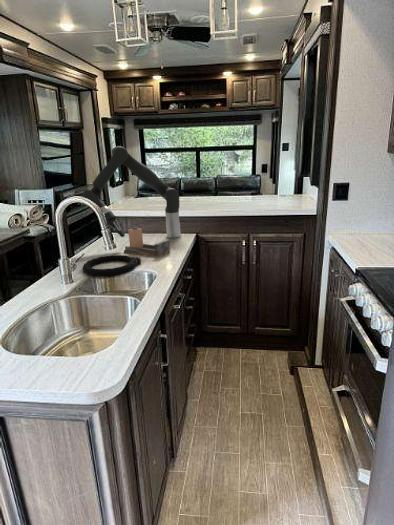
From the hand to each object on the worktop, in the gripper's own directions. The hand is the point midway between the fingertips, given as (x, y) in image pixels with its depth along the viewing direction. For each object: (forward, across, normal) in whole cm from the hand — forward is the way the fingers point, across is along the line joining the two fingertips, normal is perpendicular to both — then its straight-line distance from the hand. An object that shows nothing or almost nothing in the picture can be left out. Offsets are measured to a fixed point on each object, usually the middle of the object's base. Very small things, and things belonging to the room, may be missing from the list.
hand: (123, 236), depth 214 cm
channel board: (+18, 0, -6) cm, 19 cm away
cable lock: (+19, -30, -6) cm, 36 cm away
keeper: (+12, 0, -2) cm, 12 cm away
